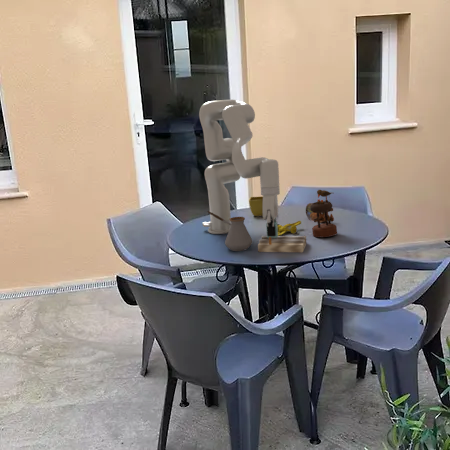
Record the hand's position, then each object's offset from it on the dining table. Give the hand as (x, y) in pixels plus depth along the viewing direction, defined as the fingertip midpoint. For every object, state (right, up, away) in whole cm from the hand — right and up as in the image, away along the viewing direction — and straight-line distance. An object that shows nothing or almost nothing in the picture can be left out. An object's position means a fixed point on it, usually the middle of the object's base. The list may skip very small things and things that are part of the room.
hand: (272, 234), depth 216 cm
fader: (0, -2, +1) cm, 2 cm away
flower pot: (-2, +9, +57) cm, 58 cm away
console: (+4, -6, 0) cm, 7 cm away
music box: (+23, -1, +13) cm, 27 cm away
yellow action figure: (+6, 0, +23) cm, 24 cm away
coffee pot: (-18, -6, +7) cm, 20 cm away
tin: (+25, +6, +38) cm, 46 cm away
